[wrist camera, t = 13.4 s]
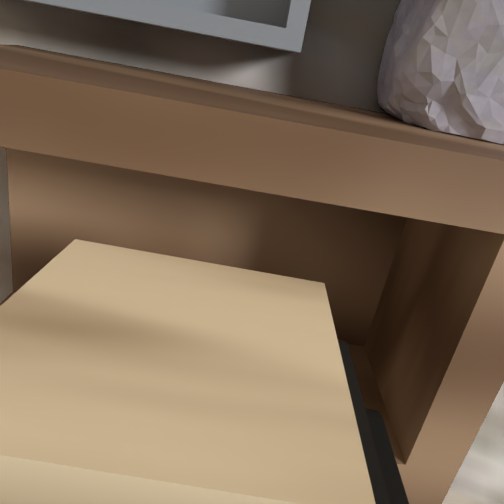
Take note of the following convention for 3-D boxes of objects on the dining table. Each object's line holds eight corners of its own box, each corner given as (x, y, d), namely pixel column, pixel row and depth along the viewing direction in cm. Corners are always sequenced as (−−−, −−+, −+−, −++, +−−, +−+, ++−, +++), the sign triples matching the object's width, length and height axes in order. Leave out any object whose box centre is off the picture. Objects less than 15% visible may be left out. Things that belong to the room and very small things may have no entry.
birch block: (276, 463, 11) (278, 756, 6) (71, 429, 11) (-79, 703, 6) (324, 283, 9) (378, 516, 4) (75, 239, 9) (-141, 431, 4)
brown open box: (347, 466, 22) (380, 624, 16) (31, 421, 21) (-62, 569, 15) (469, 129, 15) (606, 179, 9) (17, 45, 14) (-156, 39, 8)
